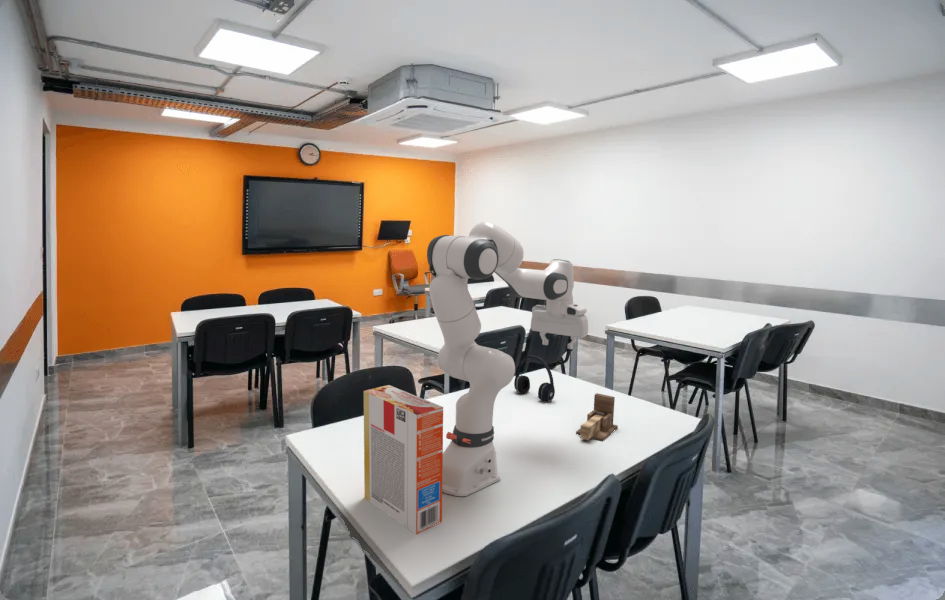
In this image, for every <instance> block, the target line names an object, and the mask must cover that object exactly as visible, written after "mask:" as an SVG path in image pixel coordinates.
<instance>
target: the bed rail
mask: <svg viewBox="0 0 945 600" xmlns="http://www.w3.org/2000/svg"><path fill="white" fill-rule="evenodd" d="M604 415H605V413H601V412H596V415H594V416H593V417H592V418H590V419H589V420H588V421H587V420H586V421H585V422H584V423H582V424H581V425H580V428H579V429H580V435H579V438H580V439H583V440H586V441H589V440H591V439H592V438H591V437H593V436H594V435H595V434H596V433H598V432H599V431H600V430H601V429H602V420H603V417H604Z"/></svg>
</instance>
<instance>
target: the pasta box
mask: <svg viewBox="0 0 945 600" xmlns="http://www.w3.org/2000/svg"><path fill="white" fill-rule="evenodd" d="M443 444H444V406H442V405H440V404H437V403H435V402H431V401H429V400H427V399H424V398H422V397H420V396H417V395H414V394H412V393H409V392H408V391H405V390H402V389H399V387H398V388H397V387H395V386H393V385H390V384H387V385H383V386H378V387H375V388H371V389H370V388H369V389H366V390H363V455H364V457H363V458H364V459H363V460H364V461H363V464H364V467H363V468H364V469H363V470H364V471H363V473H364V474H363V475H364V477H363V478H364V498H365V499H366V500H368V501H369V502H370V503H372V504H374V505H375V506H376V507H377V508H379V509H380V510H382V511H383V512H384V513H386V514H387V515H388V516H390V517H391V518H393V519H394V520H395V521H397V522H398V523H400V524H401V525H403V526H404V527H405V528H407V529H408V530H410V532H412V533H414V534H416V535H418V534H420V533H422V532H424V531H425V530H428V529H430V528H432V527H434V526H436V525H438V524H440V523H442V522H441V521H443V520H442V519H443V492H442V467H443V453H444V450H443V449H444V447H443V446H444V445H443ZM439 522H440V523H439ZM437 523H438V524H437ZM435 524H436V525H435ZM433 525H434V526H433ZM431 526H432V527H431ZM429 527H430V528H429Z"/></svg>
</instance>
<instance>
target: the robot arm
mask: <svg viewBox="0 0 945 600" xmlns="http://www.w3.org/2000/svg"><path fill="white" fill-rule="evenodd" d="M426 250H427V251H426V259H427V264H428V266H429V267H428V270H429V272H430V274H431V275H432V276H433V277H434V278H433V279H432V280H431V282H430V283H429V287H428V288H429V289H428V290H429V297H430V302H431V306H432V310H433V312H434V315H435V317H436V320H437V322H438V325H439V328H440V330H441V334H442V336H443V339H444V340H443V341H444V344H443V346H442V347H441V348H440V350H439V351H438V354H437V365H438V367H439V370H440V371H441V372H443V373H445V374H446V375H448V376H449V377H451V378H454V379H458V380H461V381H466V382H469V389H468V392H466V393H464V394H462V395H461V396H460V397H459V398H458V399H457V401H456V403H455V425H454V427H453V430H452V432H450V431H447V433H446V435H445V437H446V439H447V440H450V442H449V444H447V445H448V446H447V447H446V448H445V449H444V450H443V467H442V493H444V494H448V495H449V496H454V497H455V496H456V497H467V496H469V495H471V494H473V493H475V492H477V491H481V490H482V489H484V488H486V487H488V486H490V485H493V484H494V483H497V482H499V481H500V480H501V475H500V474H499V472H498V463H497V459H498V458H497V451H496V448H495V446H494V442H493V440H495V439H494V438H495V437H494V436H495V431H494V430H495V427H494V426H493V422H494V421H493V419H494V409H495V408H494V406H495V401H496V398H497V396H498V395H499V393H500V392H501V390H503V389H504V388H505V387H508V385H509V384H510V383H511V382H512V381H513V379H514V378H515V377H514V376H515V375H516V365H515V364H516V363H515V361H514V359H513V357H512V356H511V355H509V354H508V353H505V352H504V351H502V350H499V349H496V348H493V347H492V348H491V347H487V346H483V345H479V344H477V342H476V341H475V340H476V339H477V337H478V336H479V335H480V332H481V330H482V323H481V320H480V318H479V315H478V311H477V309H476V305H475V303H474V300H473V298H472V295H471V294H470V291H469V286H468V281H469V279H472V280H475V281H476V280H478V281H479V280H486V279H488V278H490V277H491V276H492V275H493V274H494V273H495V274H496V275H497V276H498V277H499V278H500V279H502V281H503V282H504V283H506V285H507V286H508V287H509V289H510V291H511V293H512V294H513V295H514V297H517V298H523V299H524V298H525V299H526V298H529V299H536V300H544V301H546V305H545V304H536V305H534V306H532V308H531V314H532V315H531V320H530V329H531V331H533V332H539V336H540V339H541V341H542V342H541V343H542V345H543V346H548V345H549V339H547V337H546V335H547V334H555V335H558V336H560V335H561V336H565V337H566V336H567V337H570V340H571V341H570V342H569V343H567V350H573V349H574V347H575V346H574V344H575V343H576V341H577V340H578V339H579V338H580V339H582V338H585V337H586V336H588V334H589V322H588V321H589V319H588V318H587V315H585V314H586V313H587V308H586V307H585V306H582V305H580V304H578V303H576V302H574V296H573V290H574V285H575V283H574V282H575V280H574V279H575V271H574V266H573V265H574V264H573V262H571V261H569V260H566V259H560V258H559V259H558V258H557V259H555V258H554V259H551V260H550V261H549V264H548V266H547V267H546V268H545V269H535V268H534V269H533V268H525V267H520V266H521V265H522V263H523V259H524V255H525V254H524V248H523V246H522V245H521V242H519V241H518V239H517V238H516V237H514V236H513V235H512V234H511V233H509V232H508V231H507V230H505V229H504V228H502V227H501V226H498V225H496V224H495V223H494V224H493V223H491V222H489V221H482V222H479V223H477V224H475V225H474V226H473V227H472V228H471V229H470V232H469V234H468V236H466V235H450V234H442V235H439V236H436V237H434V238H433V239H431V241H430V242H429V244H428V246H427V249H426Z"/></svg>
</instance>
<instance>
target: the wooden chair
mask: <svg viewBox="0 0 945 600" xmlns="http://www.w3.org/2000/svg"><path fill="white" fill-rule="evenodd" d="M593 397H594V398H593V399H594V400H593V410H592V411H590V412H589V413H587V416H586V421H588V420H589V419H590V418H592V417H593V416H594V415H596V412H601V413H605V415H604V417H603V420H602V429H601V430H600V431H599V432H598V433H596V434H595V435H594V436H593V437H591V438H590V439H592V438H593V440H596V439H597V441H600V442H604V441H605V440H606V439H607V438H608V437H609V436H610V435H612V434H613V433H614V432H615V431H616V430H617V429H618V427H619V426H618V425H617V424H614V417H615V416H614V414H615V398H616V397H615V396H611V395H607V394H602V393H598V392H596V393H595V394H594V396H593ZM614 430H615V431H614ZM613 431H614V432H613ZM612 432H613V433H612ZM611 433H612V434H611ZM577 434H578V435H577ZM575 435H577V436H580V428H579V429H577V430H576V431H575ZM604 439H605V440H604ZM603 440H604V441H603Z"/></svg>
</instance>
